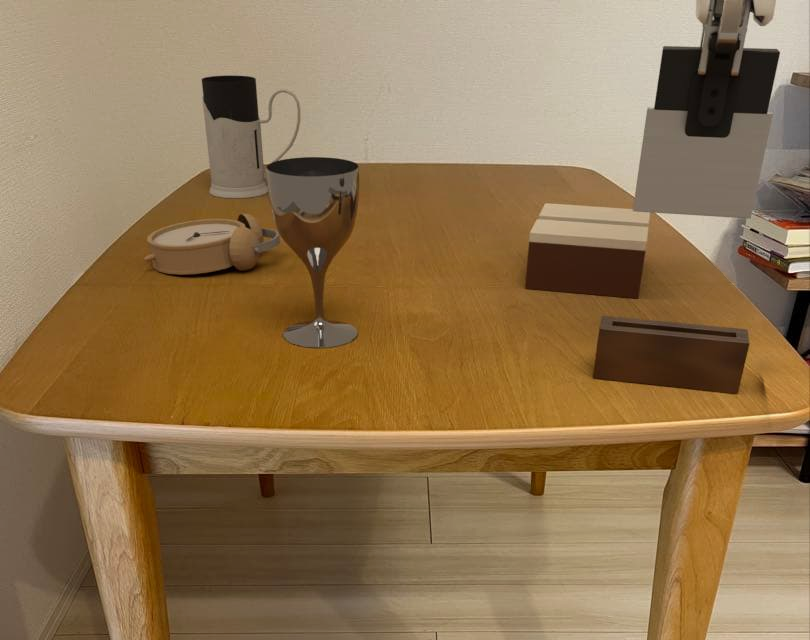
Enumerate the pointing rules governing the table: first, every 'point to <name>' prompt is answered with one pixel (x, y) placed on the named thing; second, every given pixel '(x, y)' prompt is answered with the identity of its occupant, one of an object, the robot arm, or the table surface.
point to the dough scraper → (705, 141)
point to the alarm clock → (209, 245)
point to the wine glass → (315, 230)
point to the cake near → (586, 258)
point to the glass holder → (236, 136)
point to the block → (671, 354)
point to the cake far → (594, 215)
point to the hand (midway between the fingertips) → (706, 130)
